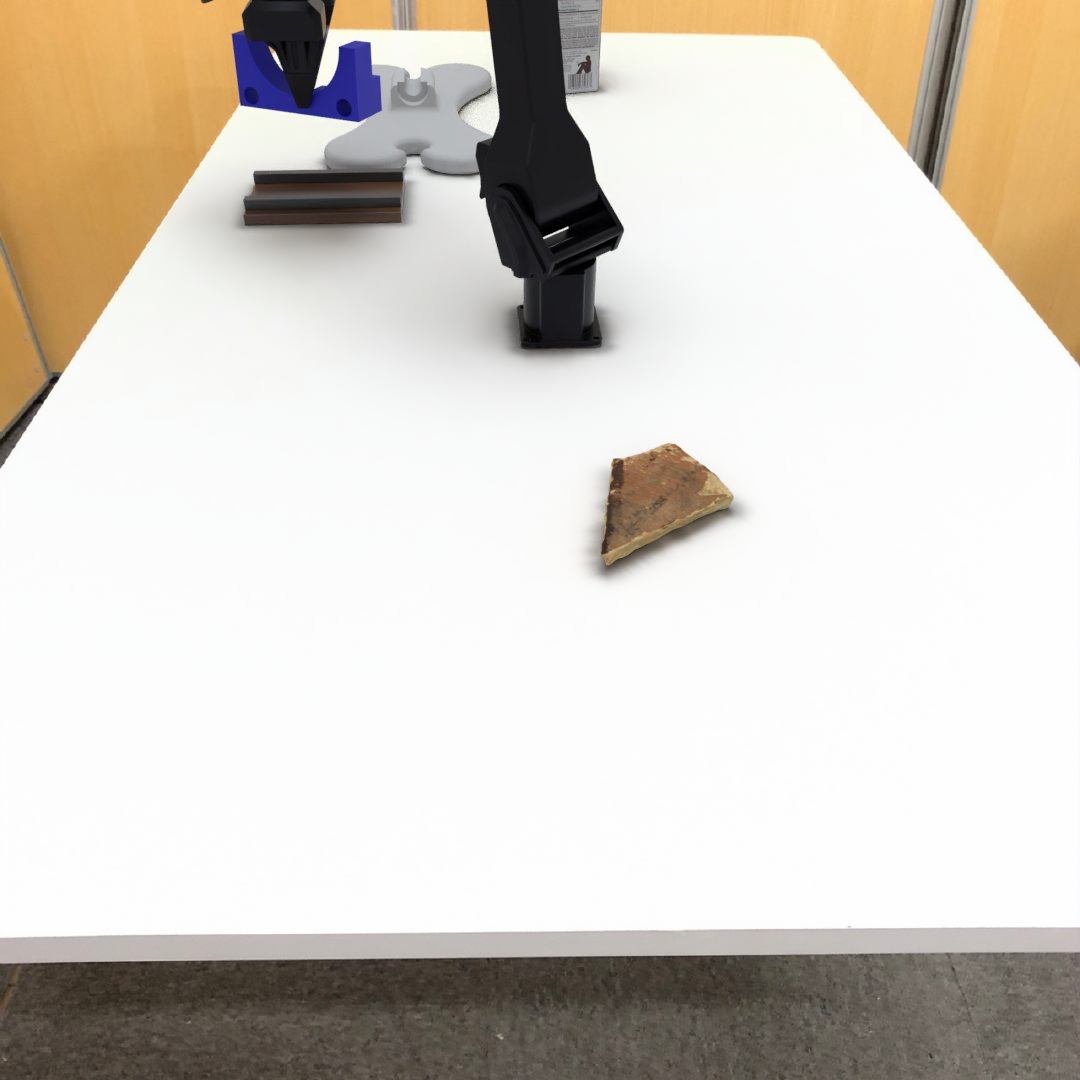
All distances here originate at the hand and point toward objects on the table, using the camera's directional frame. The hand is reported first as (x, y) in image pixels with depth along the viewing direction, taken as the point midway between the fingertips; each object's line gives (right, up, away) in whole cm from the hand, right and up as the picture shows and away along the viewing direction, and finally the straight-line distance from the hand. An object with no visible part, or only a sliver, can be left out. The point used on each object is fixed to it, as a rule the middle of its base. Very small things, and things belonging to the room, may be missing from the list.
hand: (306, 98), depth 96 cm
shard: (+29, -39, -28) cm, 56 cm away
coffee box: (+24, +19, +41) cm, 51 cm away
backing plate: (0, -6, +10) cm, 12 cm away
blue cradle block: (0, -1, +1) cm, 1 cm away
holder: (+7, +9, +29) cm, 31 cm away
